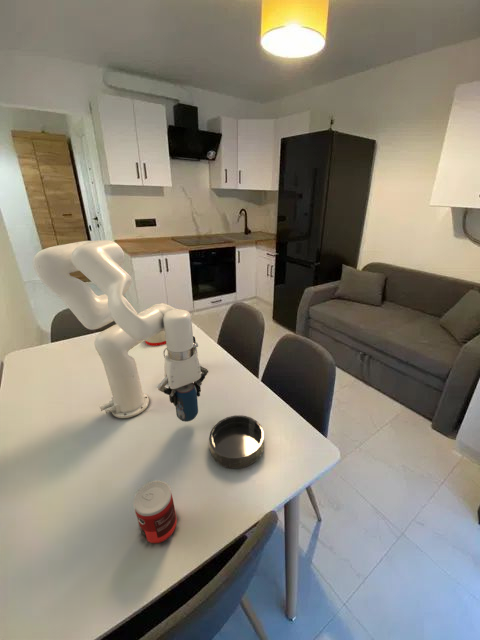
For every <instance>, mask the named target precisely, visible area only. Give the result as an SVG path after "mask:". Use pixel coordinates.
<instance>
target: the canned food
mask: <svg viewBox="0 0 480 640" xmlns="http://www.w3.org/2000/svg"><path fill="white" fill-rule="evenodd" d="M133 497H134V499H133V509H134V513H135V515H136V519H137V522H138V526H139V529H140V532H141V536H142V538H143V539H144V540H145V541H147V542H148V543H150V544H160V543H163V542H165V541H167V540H168V539H169V538H170V537H171V536H172V535H173V533H174V531H176V527H177V522H178V520H177V519H178V518H177V512H176V508H175V502H174V497H173V493H172V489H171V486H170V485H169V484H168V483H167V482H165V481H162V480H153V481H150V482H147V483H145V484H144V485H142V486H141V487H140V488H139V489H138V491H137V492H136V493H135V495H134V496H133Z"/></svg>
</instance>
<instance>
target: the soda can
mask: <svg viewBox="0 0 480 640" xmlns="http://www.w3.org/2000/svg"><path fill="white" fill-rule="evenodd" d="M175 395H176V398H177V406H175V405H174V407H175V414H176V418H177V419H178V420H180V421H182V422H185V423H186V422H188V423H189V422H191V421H193V420H194V419H196V417H197V416H198V414H199V404H198V403H199V402H198V396H197V390H196V387H195V386H194V382H192V383H190V384H187V385H184V386H182V387H179V388H177V389H176V392H175Z"/></svg>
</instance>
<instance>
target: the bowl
mask: <svg viewBox="0 0 480 640" xmlns="http://www.w3.org/2000/svg"><path fill="white" fill-rule="evenodd" d="M208 443H209V450H210V455H211V457H212V458H213V460H214V461H215V462H216V463H217V464H219V465H220V466H222V467H225V468H228V469H242V468H245V467H248V466H250V465H252V464H254V463H255V462H256V461H258V459H259V458H260V457H261V456H262V454H263V451H264V449H265V431H264V429H263V426H262V425H261V423H259V421H257V420H256V419H254V418H252V417H251V416H247V415H243V414H242V415H240V414H239V415H230V416H227V417H224V418H223V419H221V420H219V421H218V422H217V423H216V424H214V425H213V427H212V429H210V432H209V437H208Z"/></svg>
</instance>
